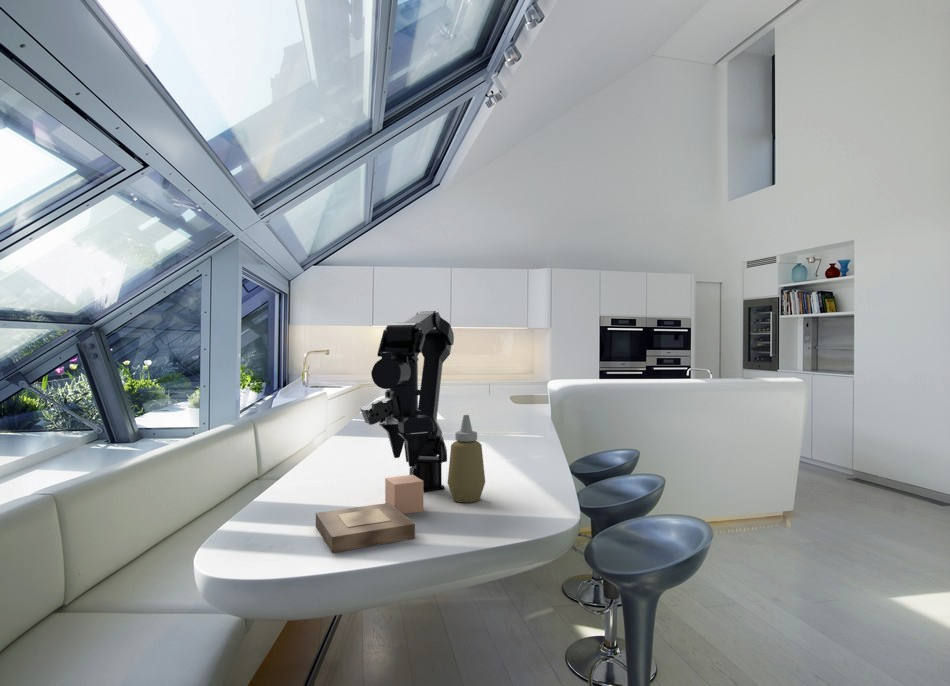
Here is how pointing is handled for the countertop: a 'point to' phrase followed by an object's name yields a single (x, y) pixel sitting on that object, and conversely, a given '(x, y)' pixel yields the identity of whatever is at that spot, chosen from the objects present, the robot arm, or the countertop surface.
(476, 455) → the squeeze bottle
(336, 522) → the base board
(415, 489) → the cube
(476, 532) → the countertop surface
